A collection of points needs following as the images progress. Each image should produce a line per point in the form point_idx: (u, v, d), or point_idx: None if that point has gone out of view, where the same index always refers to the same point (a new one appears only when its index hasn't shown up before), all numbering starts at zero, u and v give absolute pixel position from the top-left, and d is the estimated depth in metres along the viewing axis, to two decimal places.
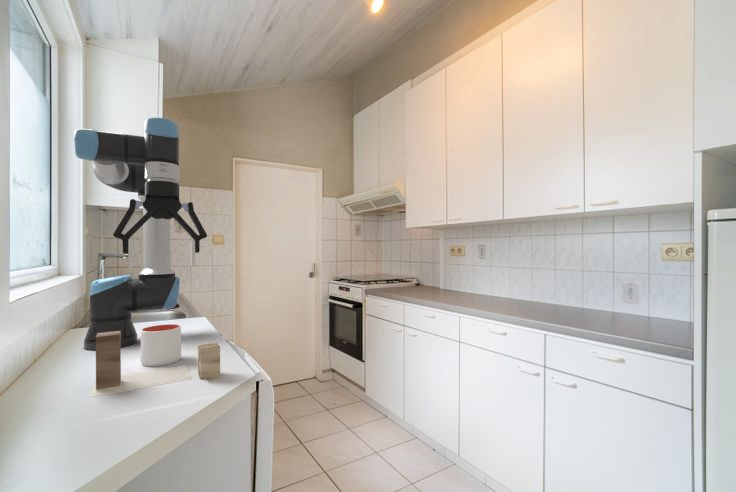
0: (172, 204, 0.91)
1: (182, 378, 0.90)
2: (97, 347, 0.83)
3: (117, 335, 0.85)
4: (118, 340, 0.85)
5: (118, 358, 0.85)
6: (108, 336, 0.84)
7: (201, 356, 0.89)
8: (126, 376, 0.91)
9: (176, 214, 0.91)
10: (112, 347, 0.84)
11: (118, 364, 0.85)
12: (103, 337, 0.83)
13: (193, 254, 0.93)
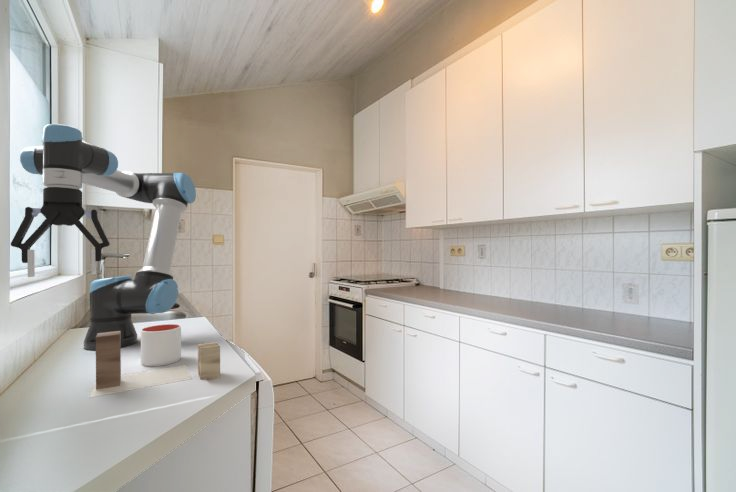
0: (73, 210, 0.91)
1: (182, 378, 0.90)
2: (97, 347, 0.83)
3: (117, 335, 0.85)
4: (118, 340, 0.85)
5: (118, 358, 0.85)
6: (108, 336, 0.84)
7: (201, 356, 0.89)
8: (126, 376, 0.91)
9: (76, 221, 0.91)
10: (112, 347, 0.84)
11: (118, 364, 0.85)
12: (103, 337, 0.83)
13: (93, 263, 0.93)
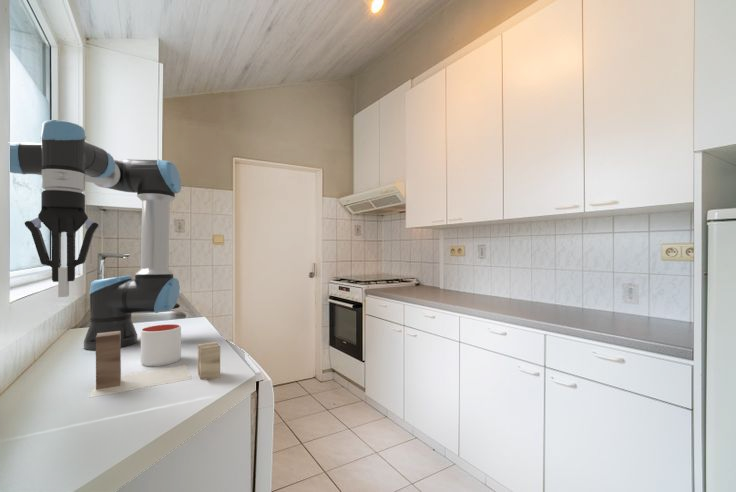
0: (76, 213, 0.82)
1: (182, 378, 0.90)
2: (97, 347, 0.83)
3: (117, 335, 0.85)
4: (118, 340, 0.85)
5: (118, 358, 0.85)
6: (108, 336, 0.84)
7: (201, 356, 0.89)
8: (126, 376, 0.91)
9: (70, 230, 0.81)
10: (112, 347, 0.84)
11: (118, 364, 0.85)
12: (103, 337, 0.83)
13: (64, 283, 0.80)
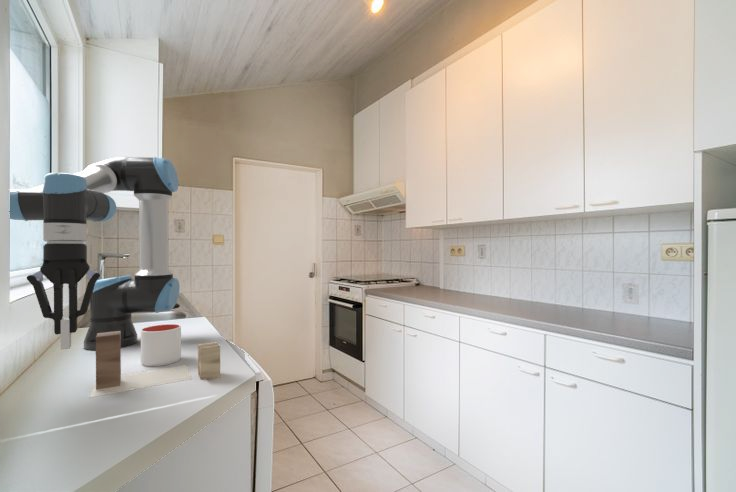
0: (78, 265, 0.82)
1: (182, 378, 0.90)
2: (97, 347, 0.83)
3: (117, 335, 0.85)
4: (118, 340, 0.85)
5: (118, 358, 0.85)
6: (108, 336, 0.84)
7: (201, 356, 0.89)
8: (126, 376, 0.91)
9: (72, 282, 0.81)
10: (112, 347, 0.84)
11: (118, 364, 0.85)
12: (103, 337, 0.83)
13: (67, 335, 0.80)
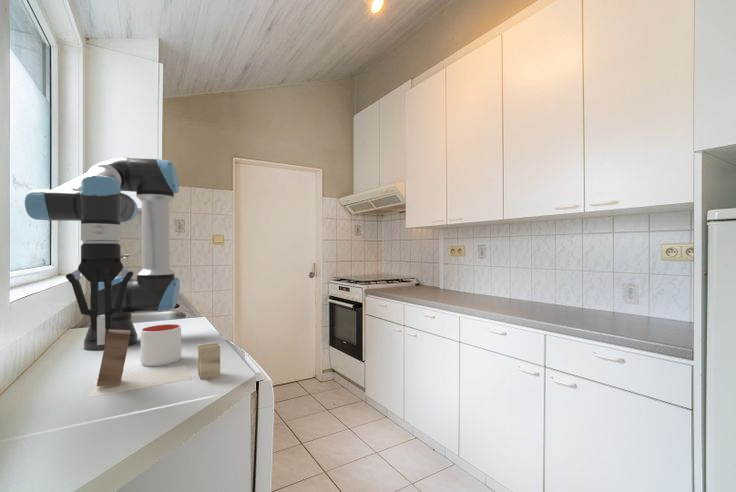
0: (113, 264, 0.85)
1: (182, 378, 0.90)
2: (106, 343, 0.84)
3: (128, 334, 0.86)
4: (128, 339, 0.86)
5: (124, 357, 0.85)
6: (119, 334, 0.85)
7: (201, 356, 0.89)
8: (126, 376, 0.91)
9: (108, 280, 0.84)
10: (121, 345, 0.85)
11: (123, 363, 0.85)
12: (114, 334, 0.84)
13: (102, 331, 0.84)
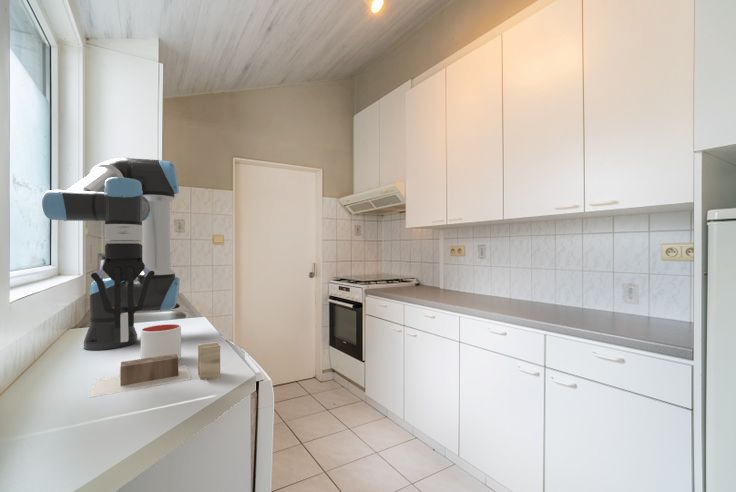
0: (136, 263, 0.88)
1: (182, 378, 0.90)
2: (167, 360, 0.90)
3: (177, 374, 0.91)
4: (172, 376, 0.90)
5: (152, 379, 0.88)
6: (177, 367, 0.91)
7: (201, 356, 0.89)
8: None
9: (131, 279, 0.87)
10: (165, 372, 0.90)
11: (145, 380, 0.87)
12: (176, 363, 0.91)
13: (126, 329, 0.86)
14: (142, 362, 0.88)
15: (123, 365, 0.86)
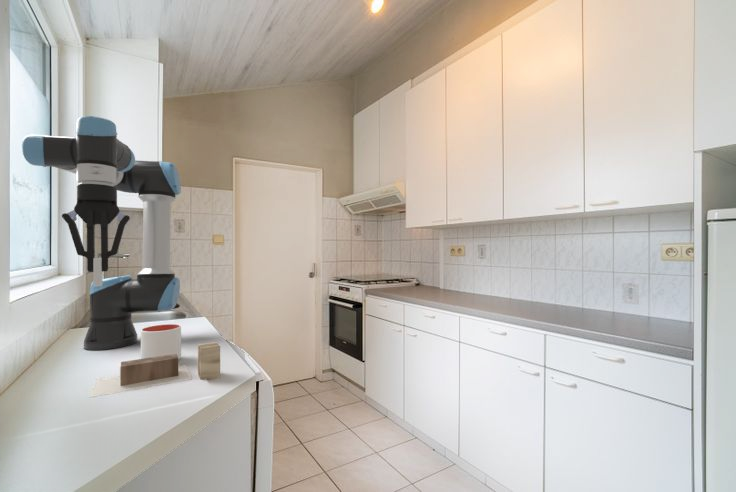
0: (109, 206, 0.85)
1: (182, 378, 0.90)
2: (167, 360, 0.90)
3: (177, 374, 0.91)
4: (172, 376, 0.90)
5: (152, 379, 0.88)
6: (177, 367, 0.91)
7: (201, 356, 0.89)
8: None
9: (104, 222, 0.84)
10: (165, 372, 0.90)
11: (145, 380, 0.87)
12: (176, 363, 0.91)
13: (99, 273, 0.84)
14: (142, 362, 0.88)
15: (123, 365, 0.86)
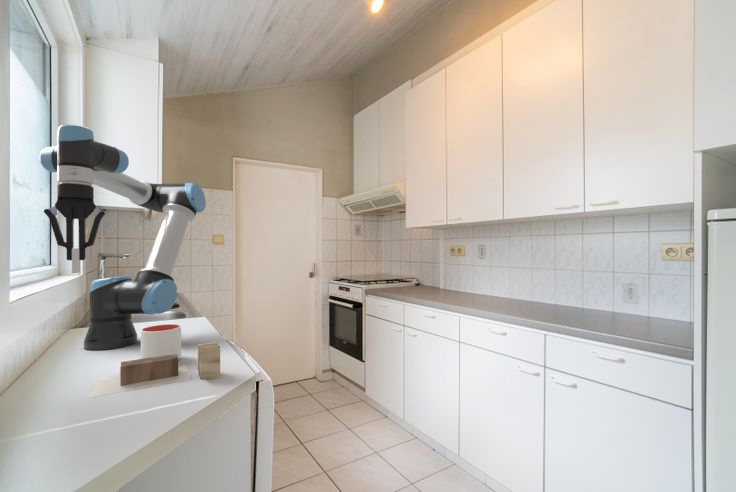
0: (86, 203, 0.97)
1: (182, 378, 0.90)
2: (167, 360, 0.90)
3: (177, 374, 0.91)
4: (172, 376, 0.90)
5: (152, 379, 0.88)
6: (177, 367, 0.91)
7: (201, 356, 0.89)
8: None
9: (81, 217, 0.96)
10: (165, 372, 0.90)
11: (145, 380, 0.87)
12: (176, 363, 0.91)
13: (77, 261, 0.96)
14: (142, 362, 0.88)
15: (123, 365, 0.86)
